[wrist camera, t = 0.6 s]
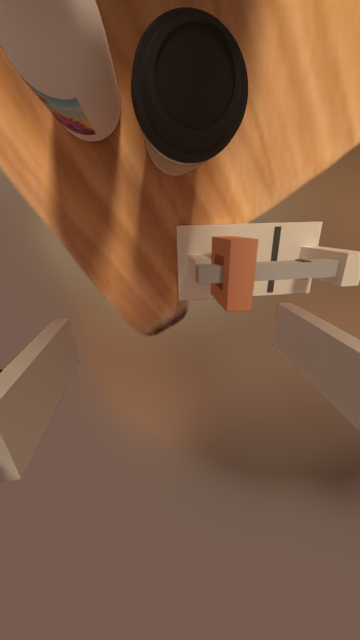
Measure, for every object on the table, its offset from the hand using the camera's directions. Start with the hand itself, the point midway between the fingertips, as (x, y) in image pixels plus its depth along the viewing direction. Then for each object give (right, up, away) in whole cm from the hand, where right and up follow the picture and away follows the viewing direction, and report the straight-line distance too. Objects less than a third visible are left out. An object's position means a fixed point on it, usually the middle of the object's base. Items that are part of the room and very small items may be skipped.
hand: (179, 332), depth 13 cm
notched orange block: (+6, +7, +17) cm, 19 cm away
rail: (+11, +10, +23) cm, 28 cm away
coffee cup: (-1, +23, +17) cm, 29 cm away
